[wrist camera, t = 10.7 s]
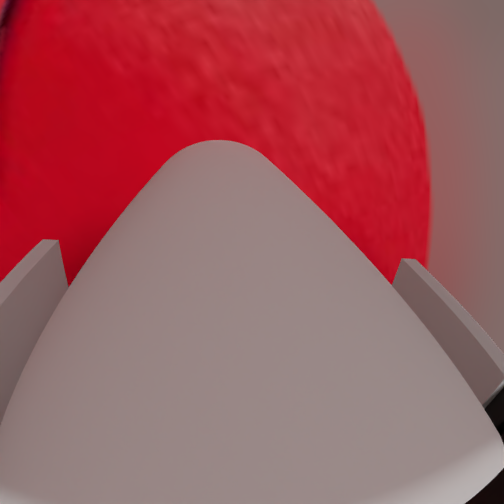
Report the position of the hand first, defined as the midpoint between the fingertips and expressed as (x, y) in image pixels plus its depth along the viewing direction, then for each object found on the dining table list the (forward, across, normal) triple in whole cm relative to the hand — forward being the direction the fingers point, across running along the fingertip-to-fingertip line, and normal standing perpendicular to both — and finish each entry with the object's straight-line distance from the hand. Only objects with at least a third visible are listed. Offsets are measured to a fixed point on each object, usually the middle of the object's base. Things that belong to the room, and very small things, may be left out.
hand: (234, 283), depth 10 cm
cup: (+8, -1, 0) cm, 8 cm away
